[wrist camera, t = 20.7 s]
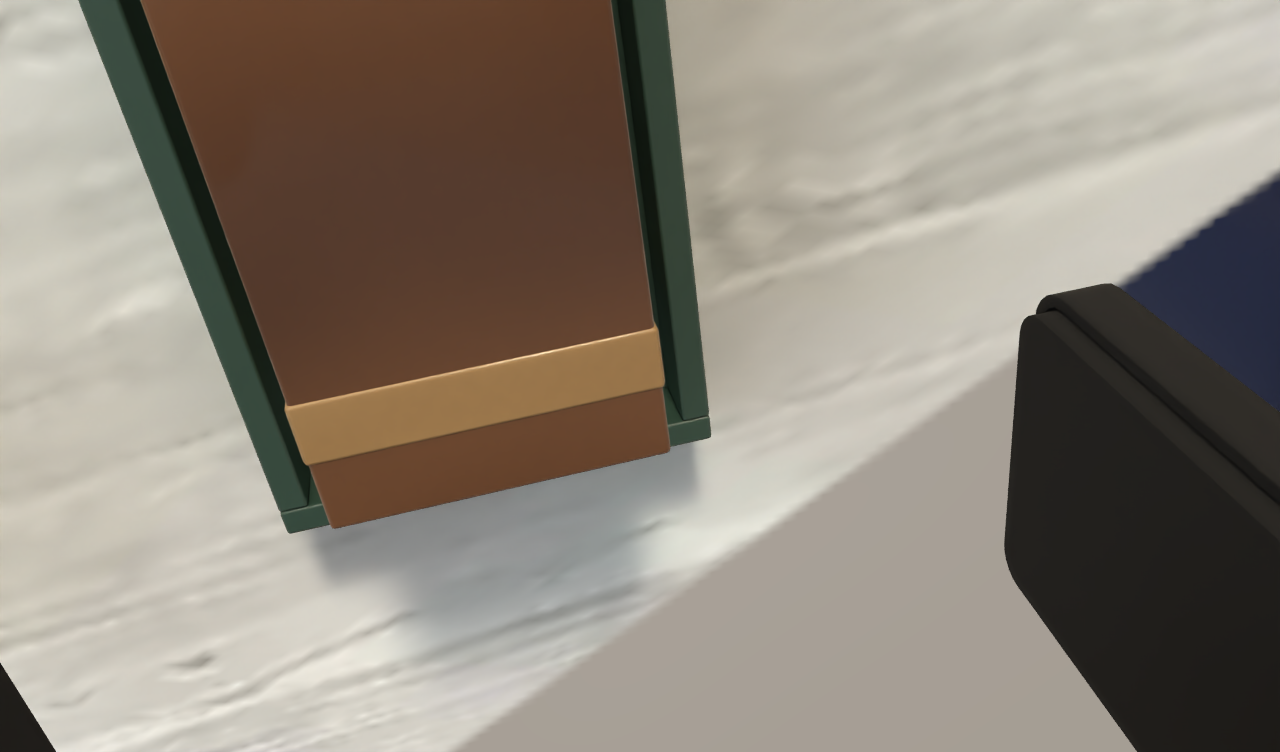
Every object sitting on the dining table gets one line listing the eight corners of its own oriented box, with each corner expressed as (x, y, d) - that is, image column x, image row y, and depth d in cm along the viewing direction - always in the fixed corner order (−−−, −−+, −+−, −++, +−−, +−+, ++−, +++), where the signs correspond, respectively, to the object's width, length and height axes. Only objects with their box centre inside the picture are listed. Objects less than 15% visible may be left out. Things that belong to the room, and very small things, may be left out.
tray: (689, 390, 25) (712, 438, 24) (293, 479, 24) (287, 535, 23) (588, -485, 17) (612, -507, 15) (-40, -405, 15) (-90, -420, 14)
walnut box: (142, -212, 17) (64, -189, 12) (529, -270, 17) (581, -266, 13) (335, 381, 23) (328, 533, 18) (620, 320, 23) (675, 454, 19)
